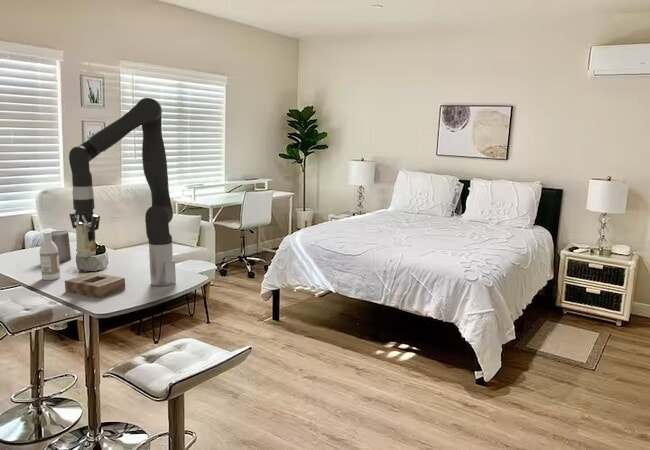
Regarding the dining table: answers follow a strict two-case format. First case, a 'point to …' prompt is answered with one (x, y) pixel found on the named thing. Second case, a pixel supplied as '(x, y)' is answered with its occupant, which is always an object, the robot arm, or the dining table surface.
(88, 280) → the walnut holder block
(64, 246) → the pillar candle
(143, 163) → the robot arm
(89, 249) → the skincare box
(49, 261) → the bath foam
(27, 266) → the dining table surface
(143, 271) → the dining table surface
